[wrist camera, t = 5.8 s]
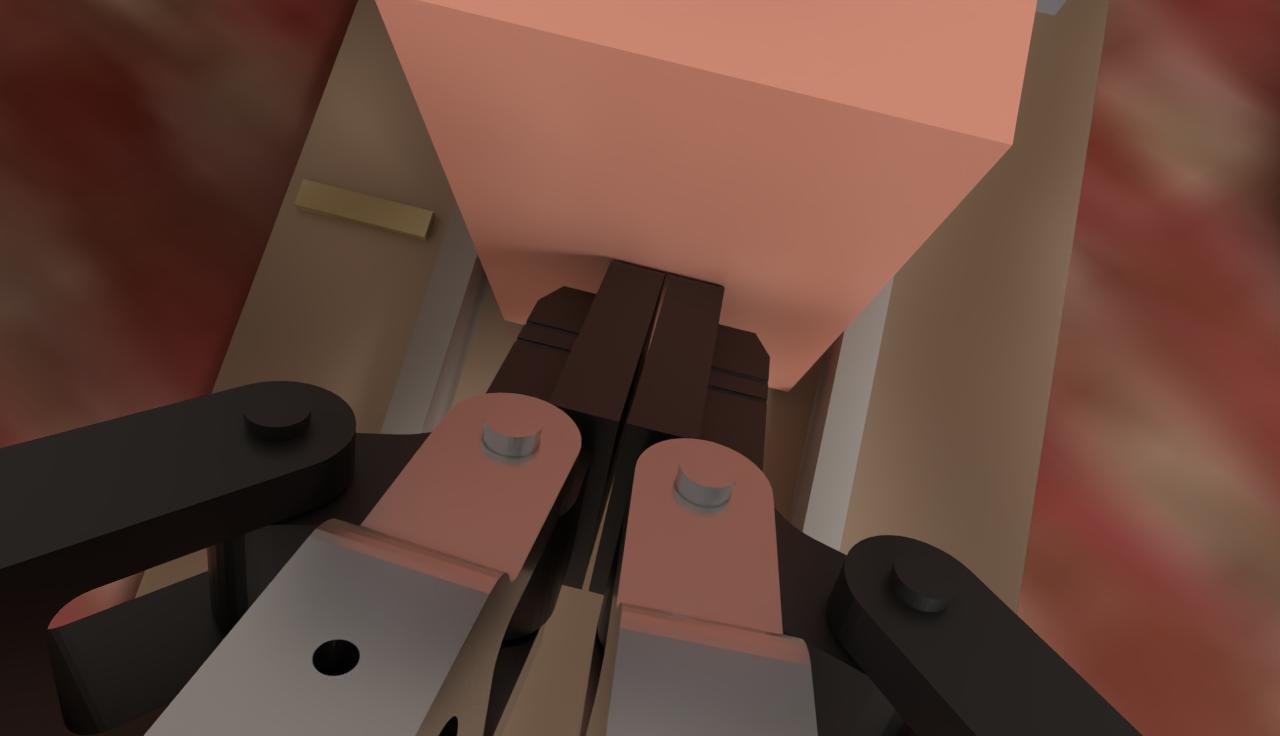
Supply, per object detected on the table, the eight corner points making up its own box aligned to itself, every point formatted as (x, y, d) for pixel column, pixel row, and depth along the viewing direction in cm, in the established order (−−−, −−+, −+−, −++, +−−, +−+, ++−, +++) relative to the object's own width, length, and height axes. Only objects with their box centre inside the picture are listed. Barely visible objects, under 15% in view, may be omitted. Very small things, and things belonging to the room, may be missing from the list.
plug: (845, 132, 17) (1137, -436, 7) (788, 392, 16) (1049, 104, 6) (580, 67, 17) (541, -572, 8) (504, 320, 16) (347, -65, 6)
